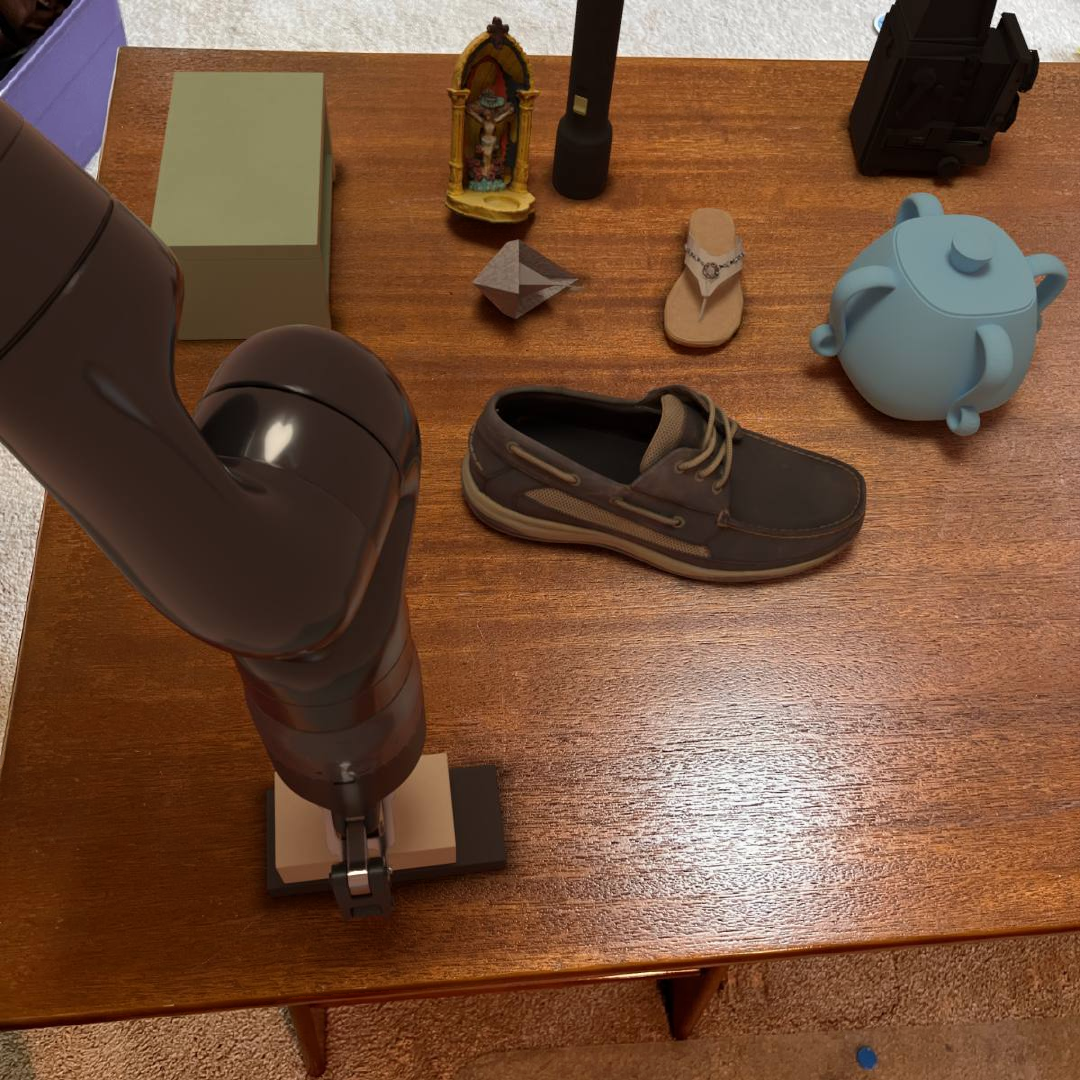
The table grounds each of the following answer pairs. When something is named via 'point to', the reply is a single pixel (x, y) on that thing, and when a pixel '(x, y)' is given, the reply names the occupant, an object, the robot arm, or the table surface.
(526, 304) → the paper boat
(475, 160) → the shrine
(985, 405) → the decorative pot
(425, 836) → the board eraser
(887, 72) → the camera
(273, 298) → the olive green lidded box
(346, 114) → the table surface
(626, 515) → the boat shoe
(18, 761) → the table surface
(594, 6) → the flashlight
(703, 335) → the sandal
